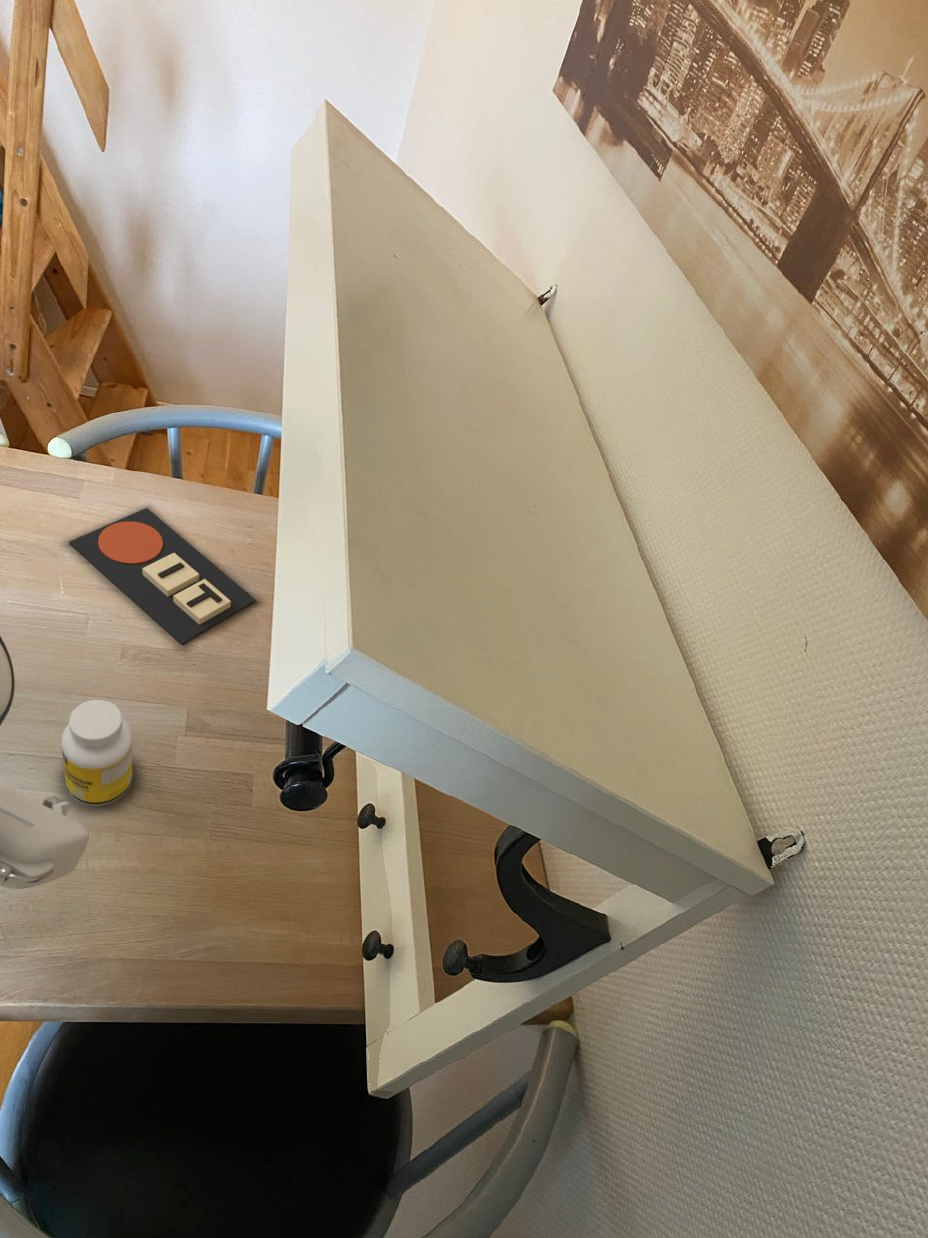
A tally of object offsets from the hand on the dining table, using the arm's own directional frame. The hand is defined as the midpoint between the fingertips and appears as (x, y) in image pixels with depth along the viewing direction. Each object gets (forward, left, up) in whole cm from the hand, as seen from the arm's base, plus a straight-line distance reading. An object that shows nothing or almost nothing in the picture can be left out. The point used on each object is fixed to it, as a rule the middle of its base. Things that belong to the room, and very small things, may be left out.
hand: (9, 784), depth 68 cm
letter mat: (-23, +34, -15) cm, 44 cm away
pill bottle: (-3, +10, -16) cm, 19 cm away
